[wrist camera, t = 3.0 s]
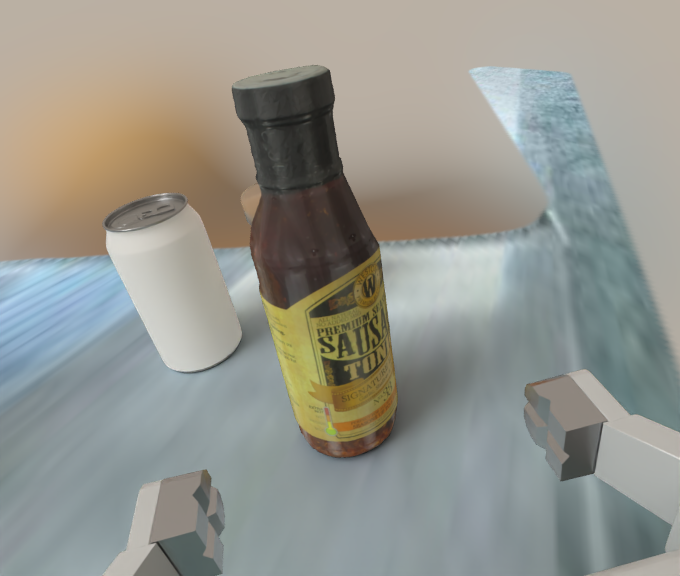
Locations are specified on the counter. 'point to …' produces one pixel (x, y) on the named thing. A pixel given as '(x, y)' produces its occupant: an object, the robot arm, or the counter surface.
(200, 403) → the counter surface
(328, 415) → the sauce bottle
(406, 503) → the counter surface
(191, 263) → the can
